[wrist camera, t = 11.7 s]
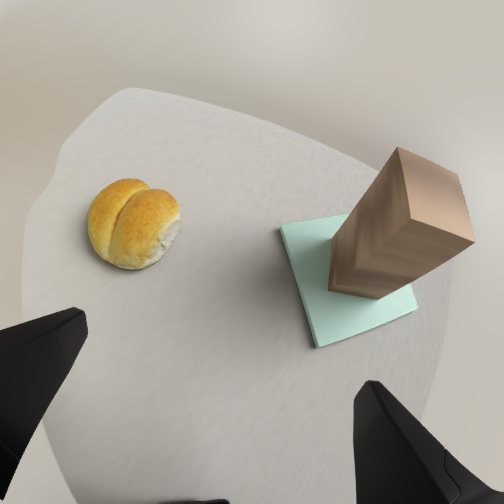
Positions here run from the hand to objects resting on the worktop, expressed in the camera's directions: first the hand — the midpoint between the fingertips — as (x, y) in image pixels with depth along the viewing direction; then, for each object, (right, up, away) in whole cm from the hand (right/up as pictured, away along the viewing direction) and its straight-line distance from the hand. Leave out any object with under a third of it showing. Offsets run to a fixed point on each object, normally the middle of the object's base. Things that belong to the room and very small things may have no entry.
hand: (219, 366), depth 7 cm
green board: (+10, +1, +17) cm, 19 cm away
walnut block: (+10, +2, +16) cm, 19 cm away
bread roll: (-10, +5, +17) cm, 20 cm away
